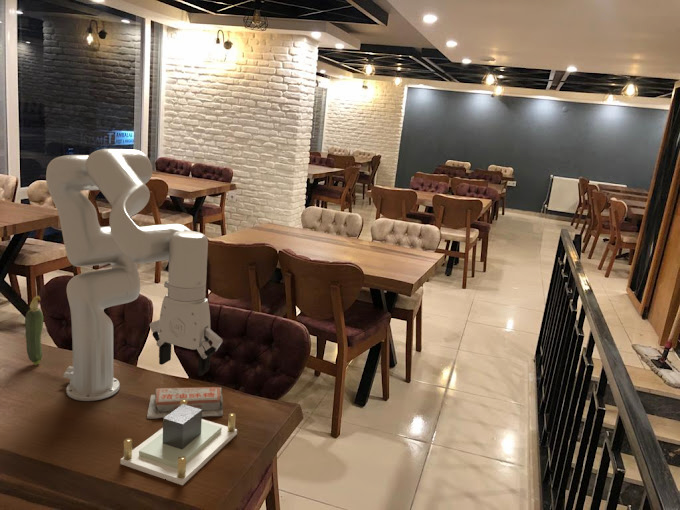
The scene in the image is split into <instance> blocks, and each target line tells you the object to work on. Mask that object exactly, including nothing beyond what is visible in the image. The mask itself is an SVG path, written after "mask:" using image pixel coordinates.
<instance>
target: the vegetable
mask: <svg viewBox="0 0 680 510" xmlns="http://www.w3.org/2000/svg"><path fill="white" fill-rule="evenodd" d="M40 301H41V297H40V295H37V296H35V297H33V299H32V300H31V301H30V305H29V309H28V310H27V312H26V313H25V318H24V329H25V342H26V353H27V356H28V360H29V361H31V363H33V364H34V365H35V366H38V364H39V363H40V362H42V358H43V350H42V349H43V347H42V341H41V340H42V330H43V326H44V314H43V312H42V311H41V309H40V308H39V306H38V305H39V302H40Z"/></svg>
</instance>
